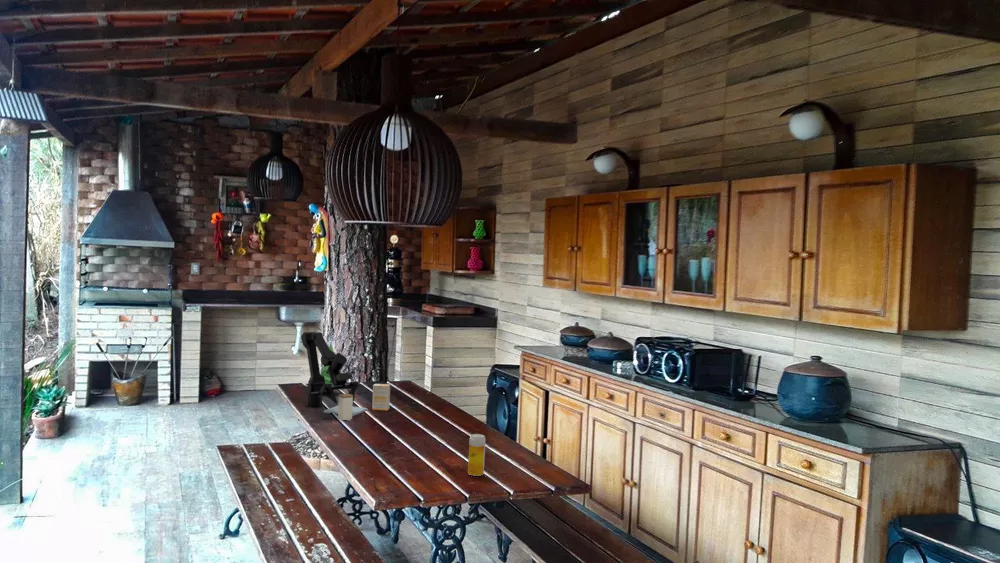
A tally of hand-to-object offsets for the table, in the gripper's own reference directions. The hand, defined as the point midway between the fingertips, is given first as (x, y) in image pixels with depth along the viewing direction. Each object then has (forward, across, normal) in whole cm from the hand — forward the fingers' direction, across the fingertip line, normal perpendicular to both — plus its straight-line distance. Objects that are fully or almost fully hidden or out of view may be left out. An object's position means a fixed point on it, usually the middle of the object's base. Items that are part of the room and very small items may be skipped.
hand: (345, 402), depth 350 cm
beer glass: (+78, +2, -65) cm, 102 cm away
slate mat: (-4, +8, +16) cm, 19 cm away
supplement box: (-2, +26, +14) cm, 30 cm away
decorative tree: (-34, +19, +46) cm, 60 cm away
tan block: (+6, 0, +6) cm, 8 cm away
